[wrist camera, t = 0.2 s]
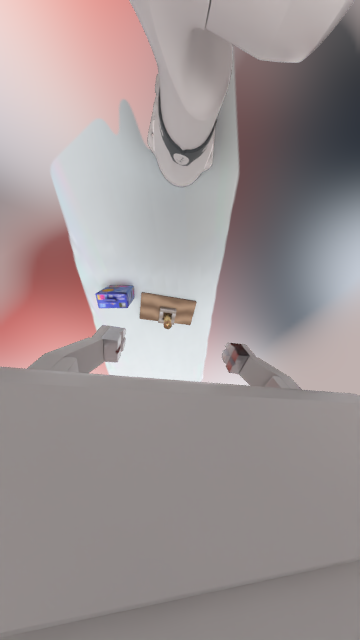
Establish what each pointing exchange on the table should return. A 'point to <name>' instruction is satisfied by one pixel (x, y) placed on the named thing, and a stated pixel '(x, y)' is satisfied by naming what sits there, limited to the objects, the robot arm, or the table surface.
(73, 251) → the table surface
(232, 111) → the table surface
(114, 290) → the ink cartridge box
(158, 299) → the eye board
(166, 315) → the brass copper-topped peg
